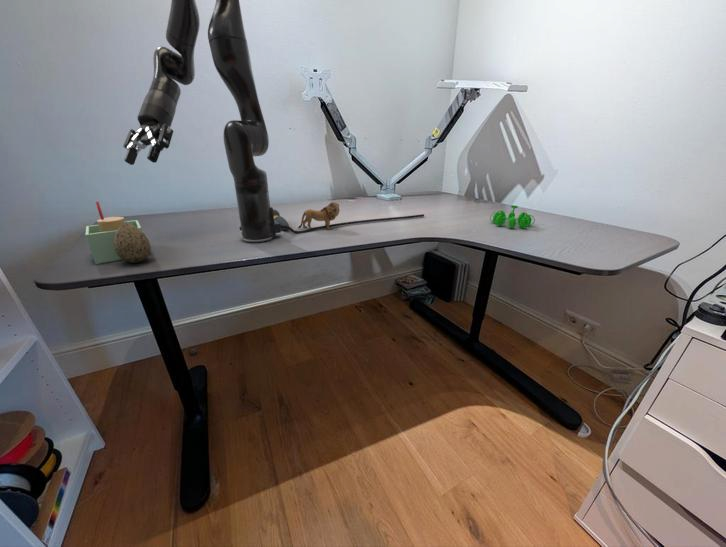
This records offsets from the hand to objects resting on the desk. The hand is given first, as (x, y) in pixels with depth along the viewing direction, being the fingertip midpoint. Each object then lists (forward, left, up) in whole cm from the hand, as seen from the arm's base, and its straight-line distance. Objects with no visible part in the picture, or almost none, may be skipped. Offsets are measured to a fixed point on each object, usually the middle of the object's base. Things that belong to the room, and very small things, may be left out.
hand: (140, 161), depth 84 cm
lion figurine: (-47, +13, -23) cm, 54 cm away
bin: (+10, +4, -23) cm, 25 cm away
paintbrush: (-37, +1, -23) cm, 43 cm away
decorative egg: (+7, +14, -23) cm, 28 cm away
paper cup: (+10, +4, -22) cm, 25 cm away
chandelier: (-106, +51, -23) cm, 120 cm away
